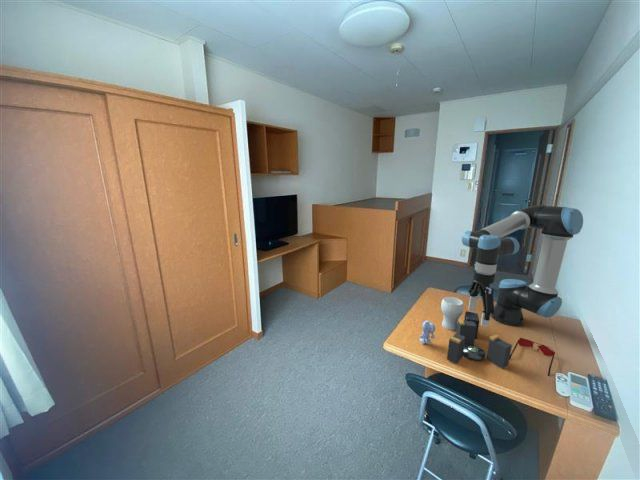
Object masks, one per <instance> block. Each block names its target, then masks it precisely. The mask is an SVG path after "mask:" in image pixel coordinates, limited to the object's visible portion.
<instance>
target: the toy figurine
mask: <svg viewBox="0 0 640 480" xmlns="http://www.w3.org/2000/svg"><path fill="white" fill-rule="evenodd" d="M421 328H422V334H420V335H419V342H420V343H421V344H422V345H425V344H427V345H431V340H432V339H435V335H434V333H435V331H436V326H435V323H433V322H431V321H429V320H425V321H423V322H422V323H421ZM430 334H431V336H430ZM430 338H431V340H430Z"/></svg>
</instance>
